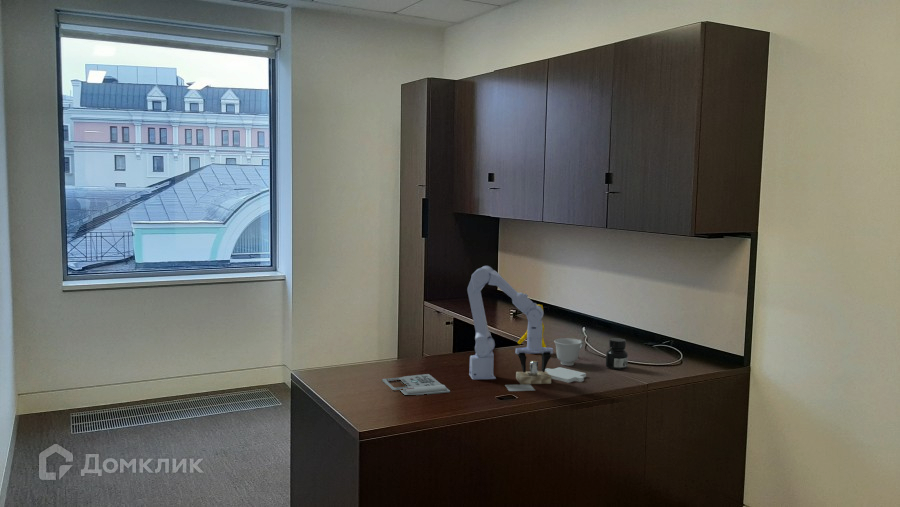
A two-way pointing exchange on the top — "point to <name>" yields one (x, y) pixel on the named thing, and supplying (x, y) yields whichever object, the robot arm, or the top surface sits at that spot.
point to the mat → (520, 387)
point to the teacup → (568, 350)
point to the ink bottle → (617, 354)
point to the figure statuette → (526, 334)
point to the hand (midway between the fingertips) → (533, 371)
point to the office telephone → (418, 385)
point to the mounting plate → (566, 374)
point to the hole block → (533, 378)
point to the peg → (533, 368)
